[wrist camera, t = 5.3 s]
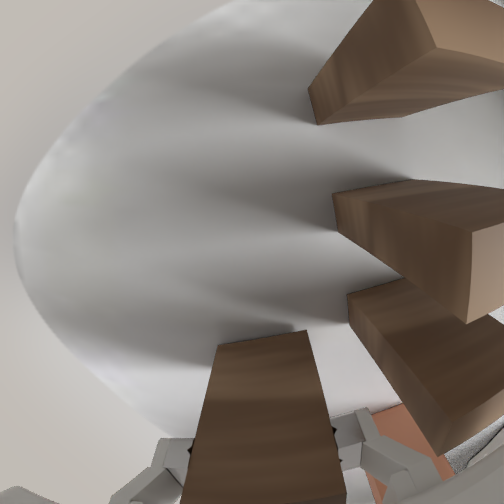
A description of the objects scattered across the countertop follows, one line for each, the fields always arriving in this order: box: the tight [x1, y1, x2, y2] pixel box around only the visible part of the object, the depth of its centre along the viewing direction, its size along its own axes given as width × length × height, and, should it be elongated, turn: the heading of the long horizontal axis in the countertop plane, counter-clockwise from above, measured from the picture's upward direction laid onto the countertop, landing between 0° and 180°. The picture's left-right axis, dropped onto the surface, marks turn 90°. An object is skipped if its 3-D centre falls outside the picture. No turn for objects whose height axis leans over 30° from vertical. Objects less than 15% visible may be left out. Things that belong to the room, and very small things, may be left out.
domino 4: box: [347, 278, 504, 457], centre depth 10 cm, size 2×5×10 cm, turn 102°
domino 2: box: [308, 0, 504, 125], centre depth 8 cm, size 2×5×10 cm, turn 102°
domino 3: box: [332, 179, 504, 324], centre depth 9 cm, size 2×5×10 cm, turn 103°
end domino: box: [365, 404, 455, 504], centre depth 13 cm, size 2×5×10 cm, turn 102°
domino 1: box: [180, 330, 347, 504], centre depth 11 cm, size 2×5×10 cm, turn 102°
